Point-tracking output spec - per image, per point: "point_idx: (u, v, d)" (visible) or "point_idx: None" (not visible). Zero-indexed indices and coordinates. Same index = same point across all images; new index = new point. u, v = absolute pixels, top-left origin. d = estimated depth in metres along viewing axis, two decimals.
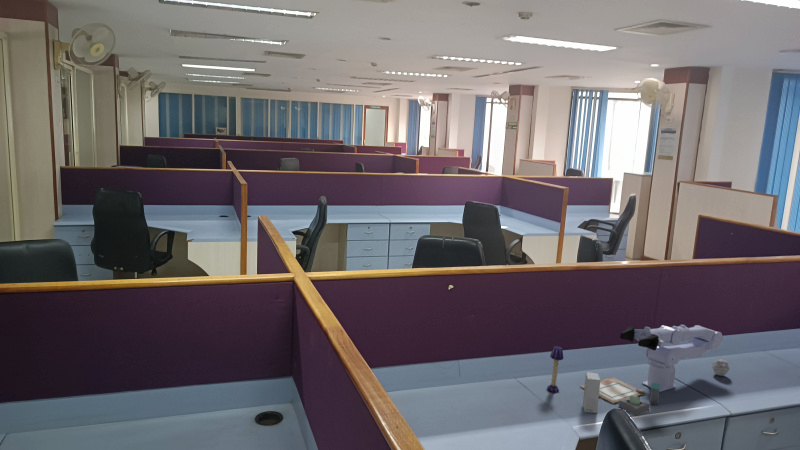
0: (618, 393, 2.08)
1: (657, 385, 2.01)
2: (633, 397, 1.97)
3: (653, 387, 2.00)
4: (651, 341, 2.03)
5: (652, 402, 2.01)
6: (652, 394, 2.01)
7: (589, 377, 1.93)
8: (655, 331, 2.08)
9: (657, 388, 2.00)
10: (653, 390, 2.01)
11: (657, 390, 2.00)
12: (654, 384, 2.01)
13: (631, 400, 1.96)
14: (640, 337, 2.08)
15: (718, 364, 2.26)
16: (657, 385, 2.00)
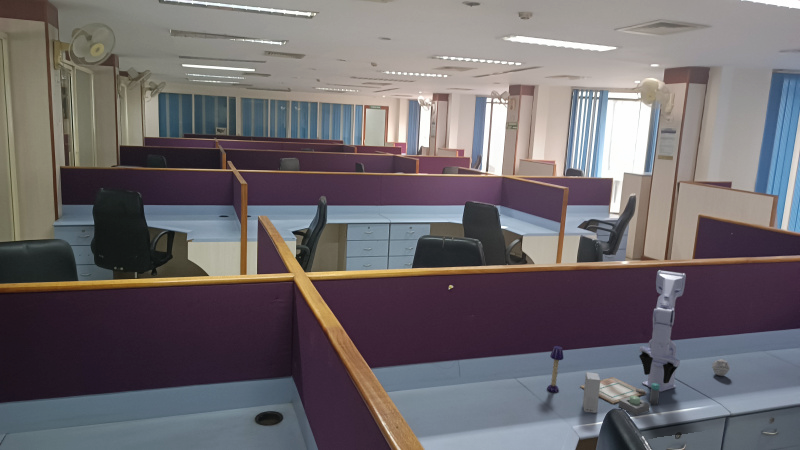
0: (618, 393, 2.08)
1: (657, 385, 2.01)
2: (633, 397, 1.97)
3: (653, 387, 2.00)
4: None
5: (652, 402, 2.01)
6: (652, 394, 2.01)
7: (589, 377, 1.93)
8: (658, 348, 1.96)
9: (657, 388, 2.00)
10: (653, 390, 2.01)
11: (657, 390, 2.00)
12: (654, 384, 2.01)
13: (631, 400, 1.96)
14: None
15: (718, 364, 2.26)
16: (657, 385, 2.00)
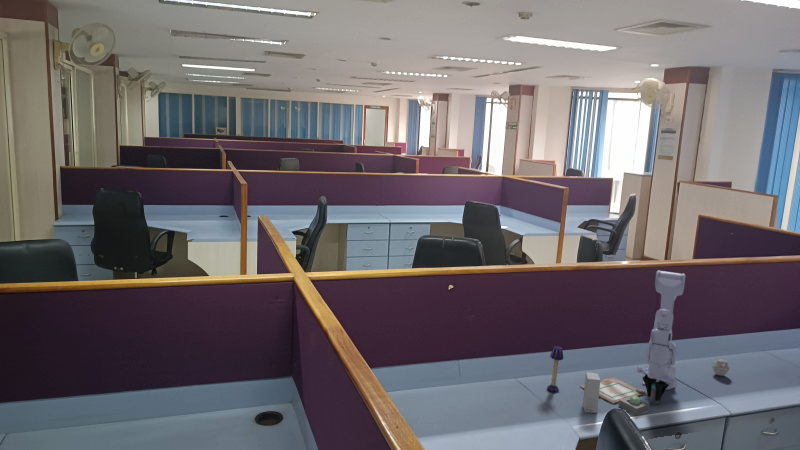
0: (618, 393, 2.08)
1: None
2: (633, 397, 1.97)
3: (653, 387, 2.00)
4: None
5: (652, 402, 2.01)
6: (652, 394, 2.01)
7: (589, 377, 1.93)
8: (656, 368, 1.98)
9: None
10: (653, 390, 2.01)
11: None
12: (654, 384, 2.01)
13: (631, 400, 1.96)
14: None
15: (718, 364, 2.26)
16: None
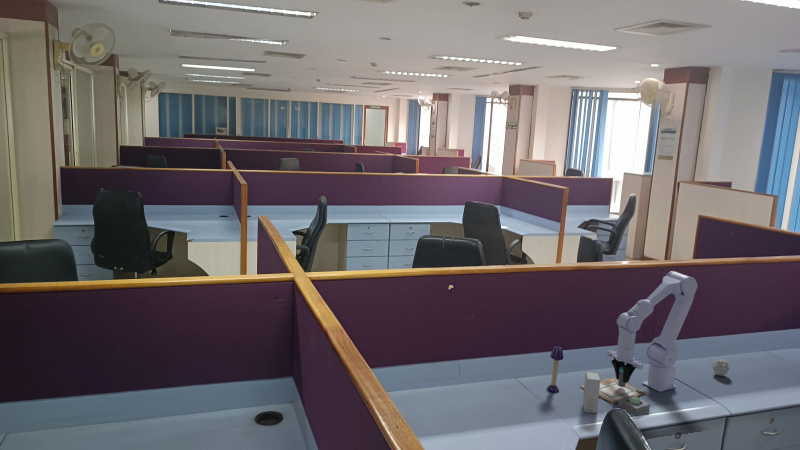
0: (618, 393, 2.08)
1: None
2: (633, 397, 1.97)
3: (621, 370, 2.10)
4: None
5: (620, 384, 2.11)
6: (620, 376, 2.10)
7: (589, 377, 1.93)
8: (623, 352, 2.07)
9: None
10: (620, 373, 2.10)
11: None
12: (622, 367, 2.11)
13: (631, 400, 1.96)
14: (622, 360, 2.11)
15: (718, 364, 2.26)
16: None
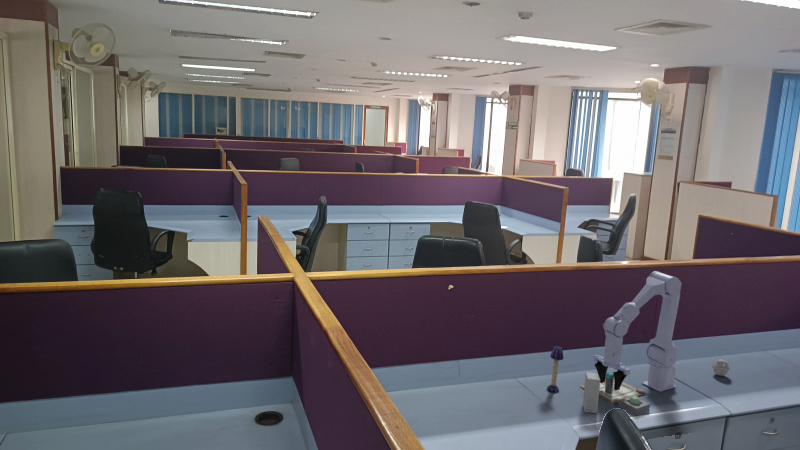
0: (618, 393, 2.08)
1: (612, 374, 2.07)
2: (633, 397, 1.97)
3: (607, 376, 2.07)
4: None
5: (607, 391, 2.07)
6: (607, 383, 2.07)
7: (589, 377, 1.93)
8: (610, 357, 2.04)
9: (611, 377, 2.06)
10: (607, 379, 2.07)
11: (611, 379, 2.06)
12: (609, 373, 2.07)
13: (631, 400, 1.96)
14: None
15: (718, 364, 2.26)
16: (611, 374, 2.07)
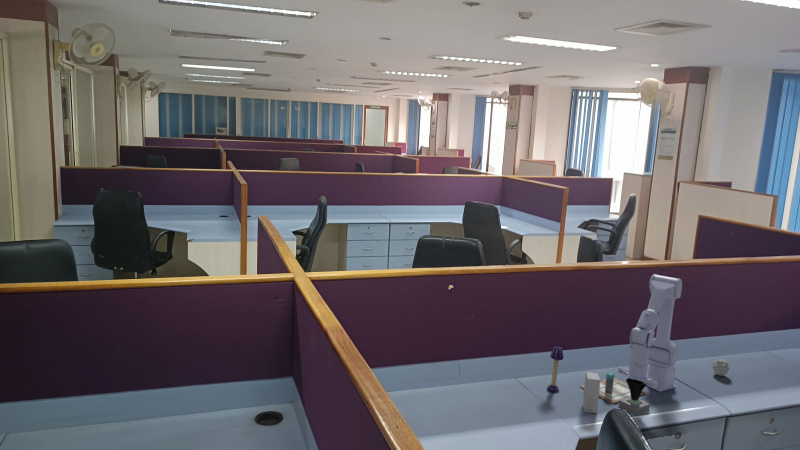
0: (618, 393, 2.08)
1: (612, 374, 2.07)
2: None
3: (608, 376, 2.07)
4: None
5: (607, 391, 2.07)
6: (607, 383, 2.07)
7: (589, 377, 1.93)
8: (636, 369, 1.93)
9: (611, 377, 2.06)
10: (607, 379, 2.07)
11: (611, 379, 2.06)
12: (609, 373, 2.07)
13: (631, 401, 1.96)
14: None
15: (718, 364, 2.26)
16: (612, 374, 2.07)
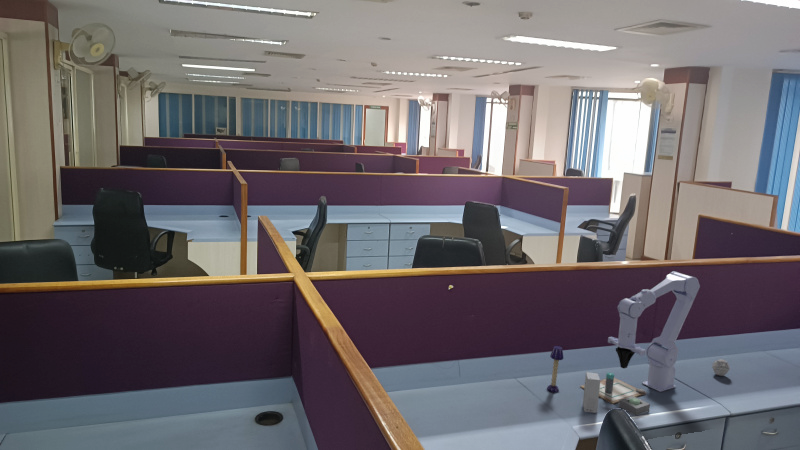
0: (618, 393, 2.08)
1: (612, 374, 2.07)
2: (633, 400, 1.97)
3: (608, 376, 2.07)
4: None
5: (607, 391, 2.07)
6: (607, 383, 2.07)
7: (589, 377, 1.93)
8: (625, 338, 2.04)
9: (611, 377, 2.06)
10: (607, 379, 2.07)
11: (611, 379, 2.06)
12: (609, 373, 2.07)
13: (631, 402, 1.96)
14: None
15: (718, 364, 2.26)
16: (612, 374, 2.07)
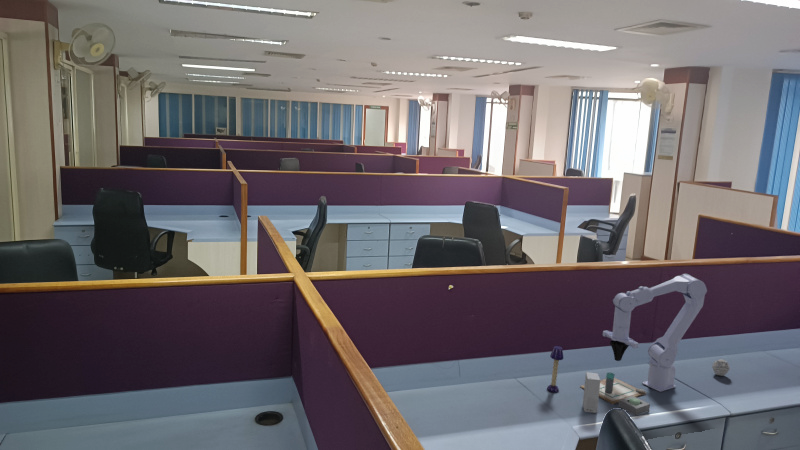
0: (618, 393, 2.08)
1: (612, 374, 2.07)
2: (633, 400, 1.97)
3: (608, 376, 2.07)
4: None
5: (607, 391, 2.07)
6: (607, 383, 2.07)
7: (589, 377, 1.93)
8: (619, 331, 2.10)
9: (611, 377, 2.06)
10: (607, 379, 2.07)
11: (611, 379, 2.06)
12: (609, 373, 2.07)
13: (631, 402, 1.96)
14: None
15: (718, 364, 2.26)
16: (612, 374, 2.07)
